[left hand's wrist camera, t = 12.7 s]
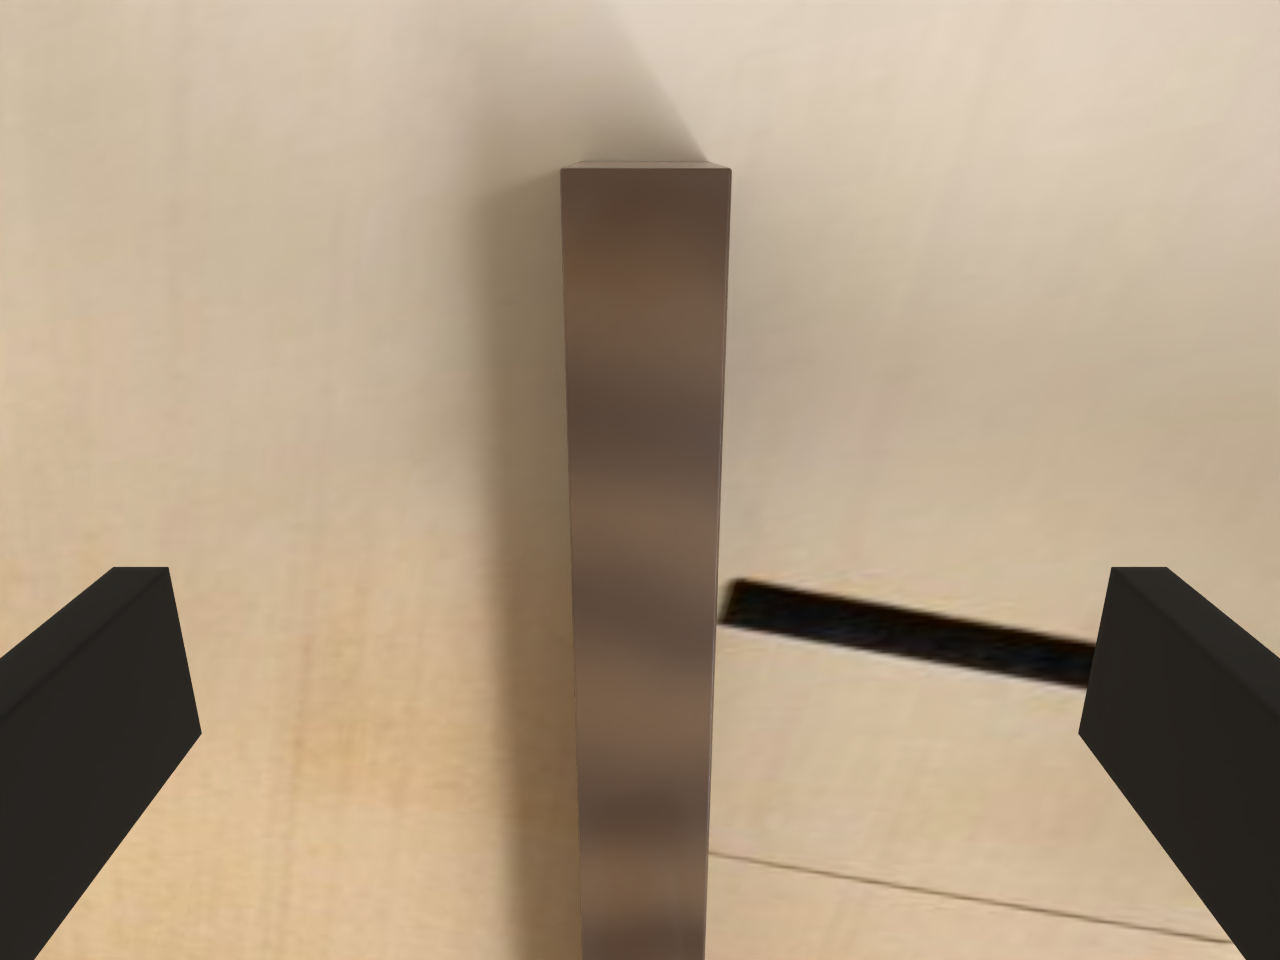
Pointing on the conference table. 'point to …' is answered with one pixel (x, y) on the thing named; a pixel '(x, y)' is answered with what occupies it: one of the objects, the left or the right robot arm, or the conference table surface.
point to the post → (644, 538)
